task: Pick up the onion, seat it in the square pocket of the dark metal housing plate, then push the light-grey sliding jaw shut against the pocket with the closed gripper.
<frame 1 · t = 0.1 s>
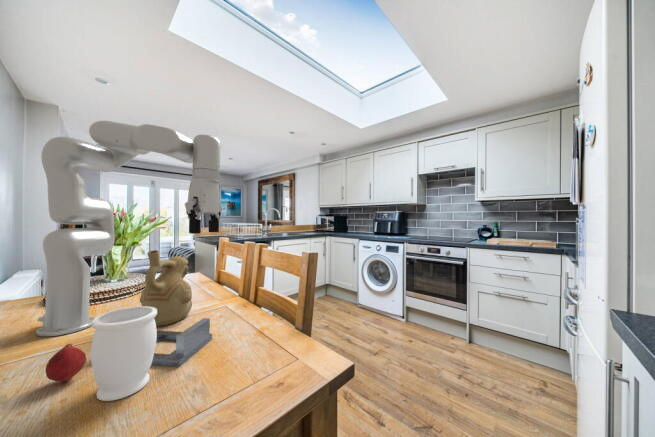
hand: (204, 232, 73), 31 cm above the table, tool pointing down, fingers open, 9 cm apart
jar: (124, 388, 50), on the table
housing: (165, 349, 65), on the table
onion: (65, 382, 51), on the table
ceramic vessel: (165, 320, 84), on the table
jaw: (126, 329, 66), point 5 cm above the table, slide at -5.5 cm, touching housing
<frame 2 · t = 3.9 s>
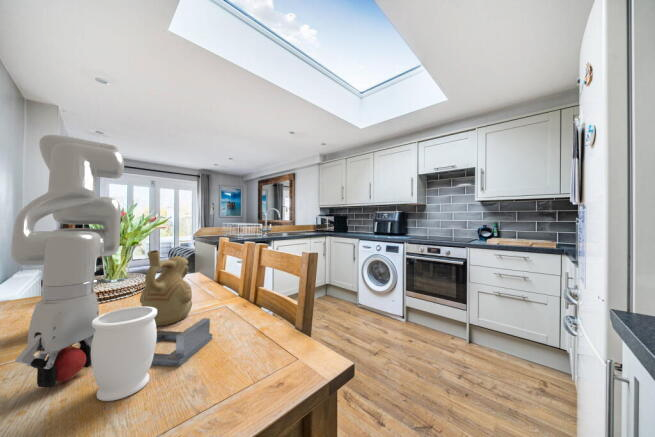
hand: (66, 375, 51), 1 cm above the table, tool pointing down, fingers closed on onion, 5 cm apart
onion: (65, 382, 51), on the table, touching gripper
everything else where it was.
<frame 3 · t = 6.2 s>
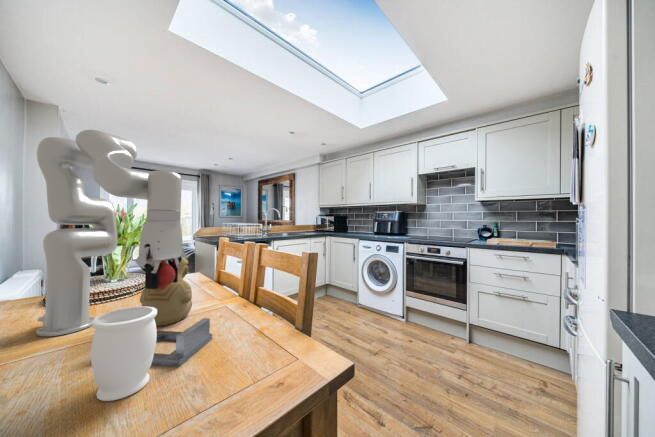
hand: (162, 284, 64), 18 cm above the table, tool pointing down, fingers closed on onion, 5 cm apart
onion: (162, 290, 64), point 16 cm above the table, touching gripper
everything else where it was.
when the fingers open (3 cm above the table, at t = 9.0 s): onion drops 2 cm, resting in housing.
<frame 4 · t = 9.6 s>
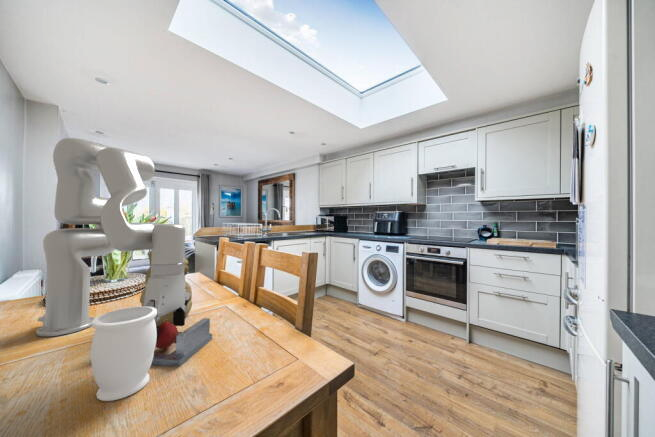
hand: (166, 333, 65), 4 cm above the table, tool pointing down, fingers open, 9 cm apart
onion: (165, 350, 65), resting in housing
everything else where it was.
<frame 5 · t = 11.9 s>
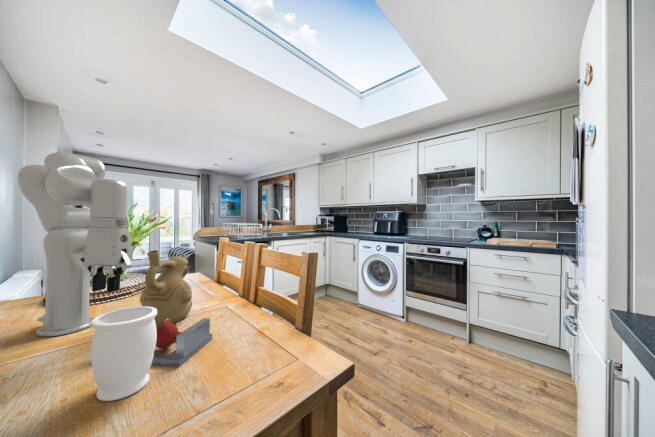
hand: (106, 289, 66), 15 cm above the table, tool pointing down, fingers open, 3 cm apart
nothing on the table moved.
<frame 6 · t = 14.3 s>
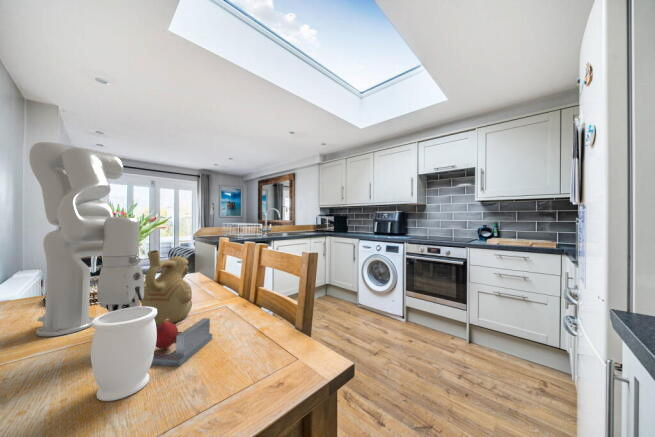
hand: (119, 328, 66), 5 cm above the table, tool pointing down, fingers closed
jaw: (130, 330, 66), point 5 cm above the table, slide at -4.5 cm, touching gripper, housing
everything else where it was.
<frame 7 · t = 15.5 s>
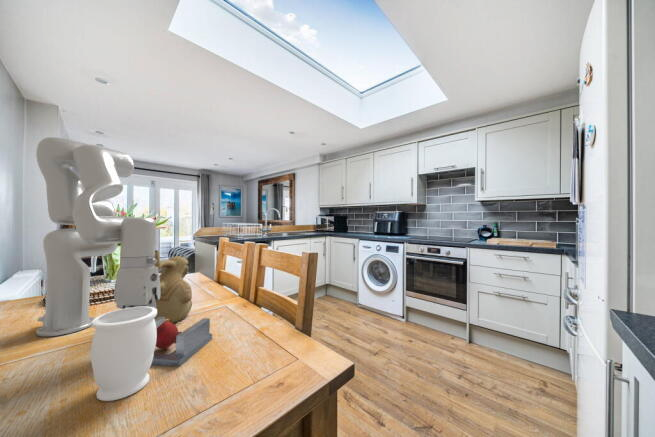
hand: (135, 329, 65), 5 cm above the table, tool pointing down, fingers closed
jaw: (146, 330, 65), point 5 cm above the table, slide at 0.4 cm, touching gripper, housing
everything else where it was.
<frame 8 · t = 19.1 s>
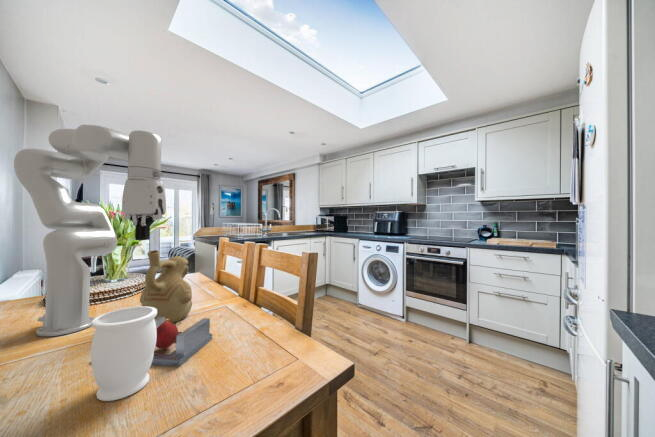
hand: (142, 239, 69), 29 cm above the table, tool pointing down, fingers closed
jaw: (146, 330, 65), point 5 cm above the table, slide at 0.3 cm, touching housing
everything else where it was.
at the end: onion inside the target area on the housing (0.1 cm from its centre), point 0.0 cm above the housing's base; jaw slide at 0.3 cm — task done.
